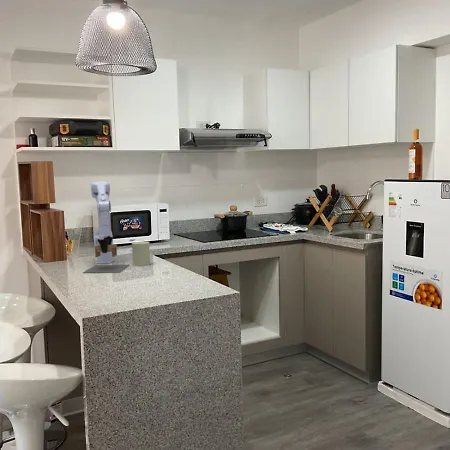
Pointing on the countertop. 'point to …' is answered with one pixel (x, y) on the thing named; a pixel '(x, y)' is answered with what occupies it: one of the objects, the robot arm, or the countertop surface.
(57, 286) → the countertop surface
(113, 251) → the stool
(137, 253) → the can
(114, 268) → the mat
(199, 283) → the countertop surface
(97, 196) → the robot arm
